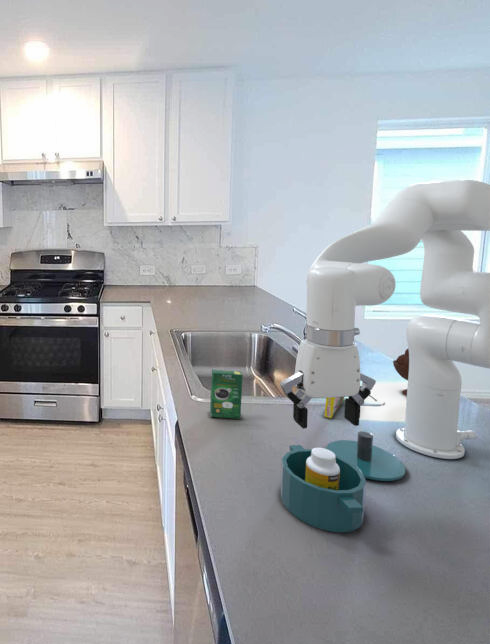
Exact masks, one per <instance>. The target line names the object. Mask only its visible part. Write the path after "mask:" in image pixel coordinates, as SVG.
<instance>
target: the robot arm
mask: <svg viewBox="0 0 490 644" xmlns="http://www.w3.org/2000/svg"><path fill="white" fill-rule="evenodd" d="M463 231H470V232H471V231H477V232H479V231H480V232H488V231H490V184H489V183H486V182H483V181H479V180H473V179H455V180H453V179H452V180H442V181H440V180H439V181H428V182H418V183H412V184H409V185H407V186H405V187H403V188H402V189H401V190H399V191H398V192H397V194H395V196H394V197H393V198H392V199H391V200H390V202H389V203H388V204H387V206H386V207H385V208H384V209H383V211H381V213H380V214H379V215H378V216H377V218H376V219H375V220H374V221H373V222H372V224H369V225H366V226H364V227H361V228H359V229H357V230H355V231H352V232H351V233H349V234H346V235H344V236H342V237H340V238H338V239H336V240H335V241H333V242H332V243H330V244H329V245H327V246H326V247H325V248H324V249H323V250H322V251H321V253H320V254H319V255H318V256H317V257H316V258H315V260H314V261H313V262H312V264H311V266H310V268H309V269H308V272H307V275H306V285H307V286H306V317H305V318H306V321H305V339H301V340H300V343H299V346H298V350H297V354H296V360H295V367H294V374H292V375H291V376H289V377H286V378H285V379H283V380H281V381H280V382H279V386H280V388H281V390H282V391H283V394H284V395H285V397H286V398H288V399H289V400H290V401H291V402H292V403H293V406H292V407H293V408H292V409H293V410H292V417H293V418H292V419H293V421H294V422H295V423H296V424H297V425H298V426H300V428H301V429H307V428H308V416H309V415H308V413H309V411H308V410H309V409H308V408H307V407H306V405H307V404H308V403H309V402H310V401H311V400H312V399H326V398H329V397H344V398H345V399H344V415H343V416H344V419H345V420H347V422H349V423H350V424H351V425H353V426H356V427H358V426H360V419H361V406H364V404H365V400H366V399H367V398H368V397H369V396H370V395H371V391H372V390H373V388H374V386H375V384H376V382H377V381H376V380H375V379H374V378H373V377H371V376H368V375H366V374H364V373H362V372H361V362H360V355H359V349H358V345H357V343H356V342H355V336H360V334H361V331H360V328H359V327H355V325H356V323H355V322H356V307H357V306H359V307H360V306H364V307H365V306H369V307H370V306H371V307H372V306H377V305H381V304H384V303H386V302H387V301H388V300H389V299H390V298H392V296H393V294H394V293H395V291H396V286H397V285H396V283H397V282H396V278H395V276H394V274H393V273H392V272H391V271H390V270H389V269H387V268H386V267H384V266H382V265H377V264H372V263H368V262H373V261H381V260H385V259H391V258H394V257H399V256H403V255H405V254H408V253H410V252H412V251H413V250H414V249H416V247H417V246H418V245H419V243H420V242H422V244H423V249H424V255H423V264H422V271H421V273H422V274H421V280H420V289H419V295H420V296H419V297H420V301H421V303H422V304H423V305H424V306H426V307H428V308H430V309H435V310H441V311H445V312H452V313H459V314H464V315H473V316H476V317H478V318H479V321H474V320H469V319H462V318H457V317H451V316H445V315H439V314H420V315H417V316H414V317H413V318H412V319H410V320H409V322H408V323H407V326H406V332H405V333H406V342H407V349H409V375H408V380H407V388H406V389H407V396H406V401H405V416H404V426H403V427H400V428H398V429H397V430H396V431H395V438H396V440H397V441H398V442H399V443H400V444H402V445H403V446H404V447H406V448H407V449H410V450H412V451H414V452H416V453H418V454H422V455H425V456H428V457H431V458H432V457H433V458H437V459H443V460H456V459H461V458H462V457H464V456H465V452H466V451H465V450H466V449H465V446H464V445H462V443H461V442H463V441H464V440H476V439H477V434H476V433H475V431H473V430H461V429H460V427H458V425H459V415H460V405H461V392H462V385H463V383H462V382H463V381H462V376H461V373H460V371H459V369H458V368H457V366H456V365H455V363H454V362H457V363H461V364H465V365H470V366H474V367H479V368H483V369H484V368H485V369H490V272H485V271H475V270H474V267H473V266H474V257H475V247H474V245H473V243H472V242H471V240H470V239H469V237H468V236H467V235H466V234H465V233H464V232H463ZM361 382H362V383H361ZM293 387H294V388H296V391H294V392H293Z"/></svg>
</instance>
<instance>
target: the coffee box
mask: <svg viewBox="0 0 490 644" xmlns="http://www.w3.org/2000/svg"><path fill="white" fill-rule="evenodd" d="M243 376H244V375H243V373H242V372H241V371H240V370H226V369H225V370H224V369H211V381H210V383H211V385H210V402H209V403H210V404H209V414H210V417H211V418H217V419H220V418H221V419H222V418H223V419H231V420H241V415H242V399H243V398H242V396H243V378H244V377H243Z"/></svg>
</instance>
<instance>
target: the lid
mask: <svg viewBox="0 0 490 644" xmlns="http://www.w3.org/2000/svg"><path fill="white" fill-rule="evenodd" d="M373 442H374V435H373V434H372V433H370V432H367V431H358V432H357V440H351V439H341V440H334V441H331V442H329V443H327V445H326V447H325V449H327V450H330V451H332V452H333V453H334V454H335V455H336V456H339V457H341V458H343V459H344V460H346V461H348V462H350V463H352V464H353V465H354V466H356V467H357V468H358V469H359V470H360V471H361V472H362V473H363V475H364V477H365V479H369V480H373V481H381V482H390V481H391V482H392V481H397V480H401V479H402V478H404V476H405V475H406V466H405V464H404V463H403V461H402V460H401V459H400V458H399V457H398V456H396V455H394V454H393V453H391V452H390V451H389V450H388V451H387V450H386V449H384V448H381V447H380V446H376V445H373V444H374V443H373Z"/></svg>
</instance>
